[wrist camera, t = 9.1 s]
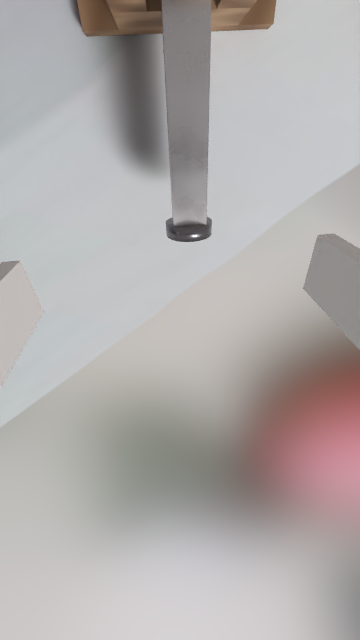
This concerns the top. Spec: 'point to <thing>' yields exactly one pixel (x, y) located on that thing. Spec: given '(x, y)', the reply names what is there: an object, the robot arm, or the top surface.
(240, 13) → the bearing block
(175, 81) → the shaft
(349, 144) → the top surface
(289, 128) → the top surface
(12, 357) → the robot arm
